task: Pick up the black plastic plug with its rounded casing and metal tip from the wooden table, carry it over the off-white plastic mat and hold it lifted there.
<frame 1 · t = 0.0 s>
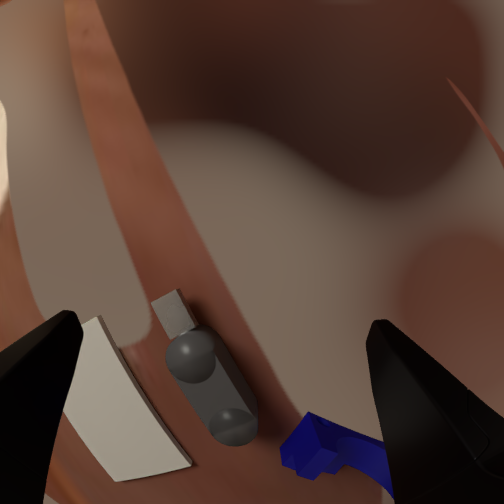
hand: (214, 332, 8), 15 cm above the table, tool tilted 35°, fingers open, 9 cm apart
cable clip: (344, 449, 22), on the table
connector: (219, 376, 23), on the table
mat: (106, 409, 22), on the table
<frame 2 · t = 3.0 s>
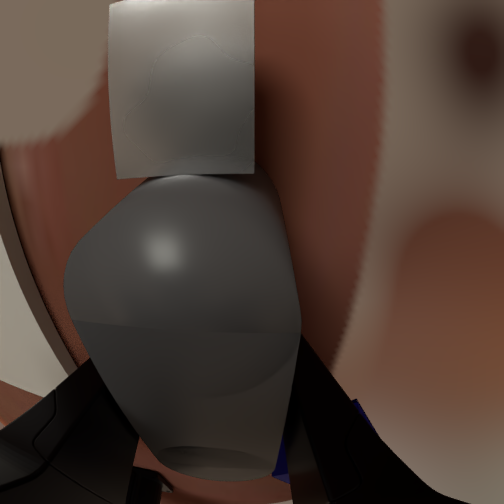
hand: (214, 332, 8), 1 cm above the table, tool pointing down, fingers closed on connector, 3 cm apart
cable clip: (344, 443, 15), on the table
connector: (218, 308, 9), on the table, touching gripper
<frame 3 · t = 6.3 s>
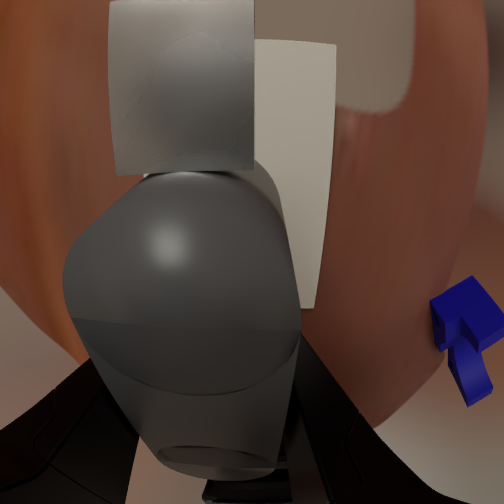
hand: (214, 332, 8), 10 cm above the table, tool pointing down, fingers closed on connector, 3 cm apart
cable clip: (452, 329, 22), on the table
connector: (218, 306, 9), point 9 cm above the table, touching gripper
mat: (236, 185, 16), on the table
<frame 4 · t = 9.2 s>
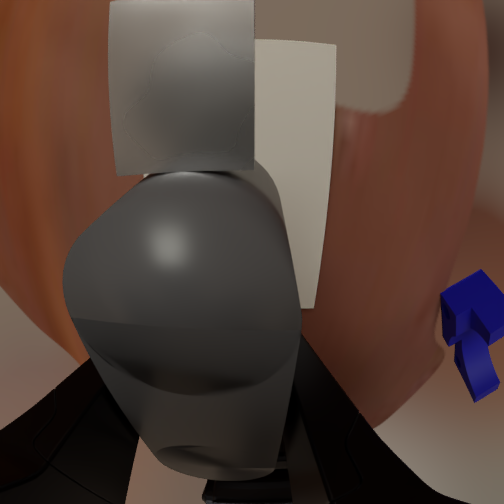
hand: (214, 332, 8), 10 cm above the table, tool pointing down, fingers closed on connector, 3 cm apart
cable clip: (460, 323, 22), on the table
connector: (218, 306, 9), point 9 cm above the table, touching gripper
mat: (236, 185, 16), on the table
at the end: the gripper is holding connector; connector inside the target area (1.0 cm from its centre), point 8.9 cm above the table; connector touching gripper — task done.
